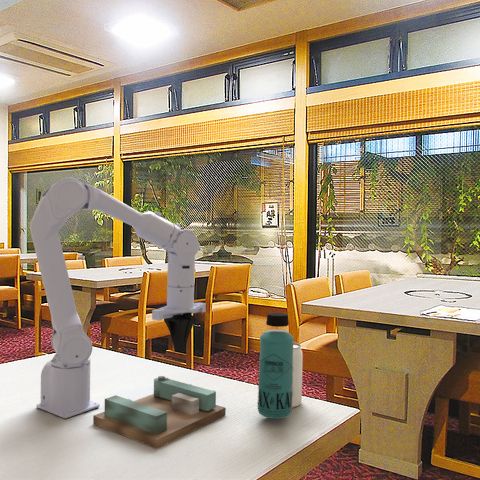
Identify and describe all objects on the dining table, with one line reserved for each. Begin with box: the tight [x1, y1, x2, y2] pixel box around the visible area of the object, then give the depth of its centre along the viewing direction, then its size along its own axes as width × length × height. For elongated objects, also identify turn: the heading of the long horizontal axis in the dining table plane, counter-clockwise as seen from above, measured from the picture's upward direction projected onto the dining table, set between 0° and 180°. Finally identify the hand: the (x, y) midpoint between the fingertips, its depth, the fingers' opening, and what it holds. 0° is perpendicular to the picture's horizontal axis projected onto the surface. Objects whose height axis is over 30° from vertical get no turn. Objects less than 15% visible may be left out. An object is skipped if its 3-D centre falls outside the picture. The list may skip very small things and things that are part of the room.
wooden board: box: [92, 393, 227, 450], centre depth 92 cm, size 16×18×4 cm
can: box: [291, 341, 304, 409], centre depth 101 cm, size 6×6×12 cm
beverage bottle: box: [256, 312, 295, 419], centre depth 92 cm, size 6×7×20 cm
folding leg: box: [153, 375, 217, 411], centre depth 97 cm, size 14×3×4 cm, turn 54°
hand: (179, 349), depth 106 cm, fingers closed
